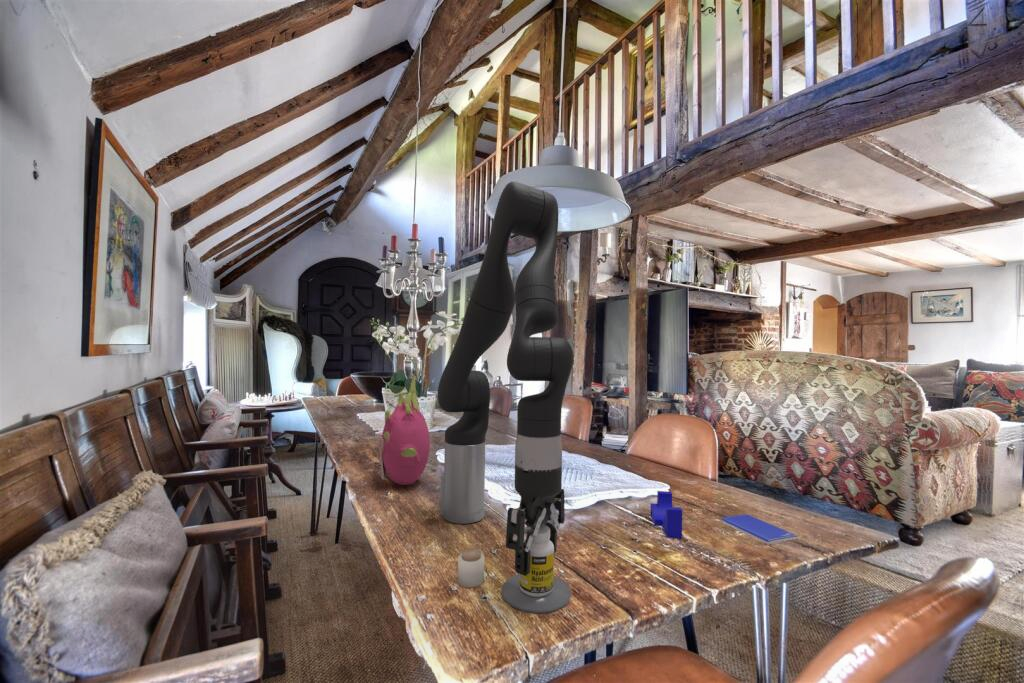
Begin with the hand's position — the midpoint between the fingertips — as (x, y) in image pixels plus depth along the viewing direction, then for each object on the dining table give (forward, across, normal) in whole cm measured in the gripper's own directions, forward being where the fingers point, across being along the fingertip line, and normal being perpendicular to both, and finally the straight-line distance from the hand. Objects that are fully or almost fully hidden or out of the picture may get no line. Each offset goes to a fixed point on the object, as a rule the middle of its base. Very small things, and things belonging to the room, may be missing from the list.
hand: (536, 562), depth 75 cm
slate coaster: (+5, 0, 0) cm, 5 cm away
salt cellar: (+5, +3, -11) cm, 12 cm away
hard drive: (+6, -50, +26) cm, 57 cm away
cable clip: (+5, -40, +9) cm, 41 cm away
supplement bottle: (+4, 0, 0) cm, 5 cm away
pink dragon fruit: (+5, -26, -58) cm, 64 cm away
